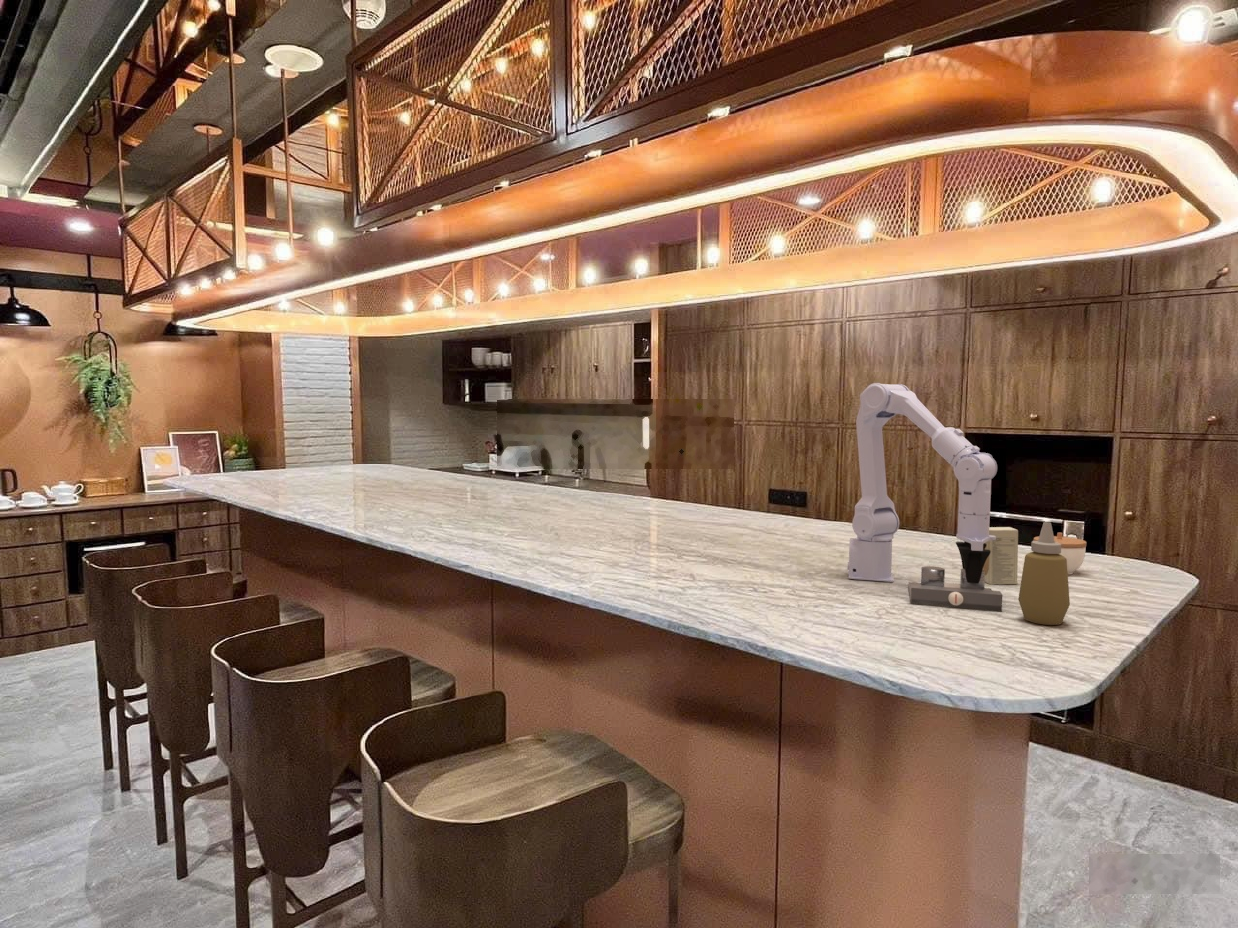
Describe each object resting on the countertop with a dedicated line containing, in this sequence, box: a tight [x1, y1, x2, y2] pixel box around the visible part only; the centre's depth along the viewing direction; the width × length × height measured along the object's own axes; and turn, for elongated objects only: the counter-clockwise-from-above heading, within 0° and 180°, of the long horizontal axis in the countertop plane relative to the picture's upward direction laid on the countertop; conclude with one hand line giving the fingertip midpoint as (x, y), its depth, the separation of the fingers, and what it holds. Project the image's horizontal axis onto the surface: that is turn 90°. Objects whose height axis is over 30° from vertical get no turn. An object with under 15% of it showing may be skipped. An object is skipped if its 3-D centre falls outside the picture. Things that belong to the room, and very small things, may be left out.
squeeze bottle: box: [1018, 521, 1071, 626], centre depth 129 cm, size 8×8×18 cm
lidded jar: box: [1032, 532, 1087, 576], centre depth 170 cm, size 11×11×9 cm
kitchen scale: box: [907, 581, 1003, 613], centre depth 146 cm, size 16×15×3 cm
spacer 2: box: [959, 567, 986, 590], centre depth 146 cm, size 4×4×4 cm
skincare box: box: [983, 526, 1019, 585], centre depth 160 cm, size 6×4×12 cm
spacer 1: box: [920, 565, 946, 587], centre depth 148 cm, size 4×4×4 cm
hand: (971, 579), depth 146 cm, fingers closed on spacer 2, 4 cm apart
